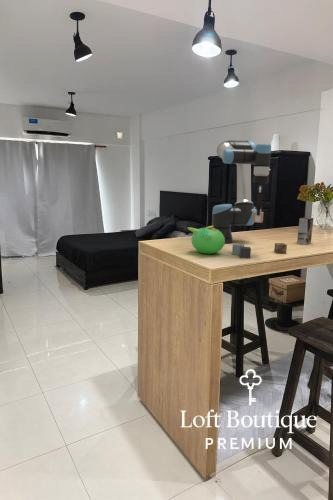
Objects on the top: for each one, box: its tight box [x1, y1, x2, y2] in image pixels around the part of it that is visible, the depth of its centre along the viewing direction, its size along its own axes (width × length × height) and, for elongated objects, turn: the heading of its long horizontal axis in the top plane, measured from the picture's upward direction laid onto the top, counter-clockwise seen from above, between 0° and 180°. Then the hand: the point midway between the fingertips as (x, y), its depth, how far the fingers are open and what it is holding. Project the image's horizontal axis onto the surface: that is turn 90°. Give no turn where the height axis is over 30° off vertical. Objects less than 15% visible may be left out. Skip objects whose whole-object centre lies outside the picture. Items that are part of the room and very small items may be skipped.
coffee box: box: [296, 217, 315, 246], centre depth 217 cm, size 9×6×16 cm
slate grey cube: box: [231, 243, 245, 256], centre depth 184 cm, size 5×5×5 cm
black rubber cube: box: [239, 246, 252, 259], centre depth 177 cm, size 5×5×5 cm
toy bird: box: [187, 225, 226, 255], centre depth 183 cm, size 18×17×15 cm
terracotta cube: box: [253, 211, 264, 224], centre depth 180 cm, size 5×5×5 cm
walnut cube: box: [273, 242, 288, 255], centre depth 189 cm, size 5×5×5 cm
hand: (257, 221), depth 181 cm, fingers closed on terracotta cube, 5 cm apart
